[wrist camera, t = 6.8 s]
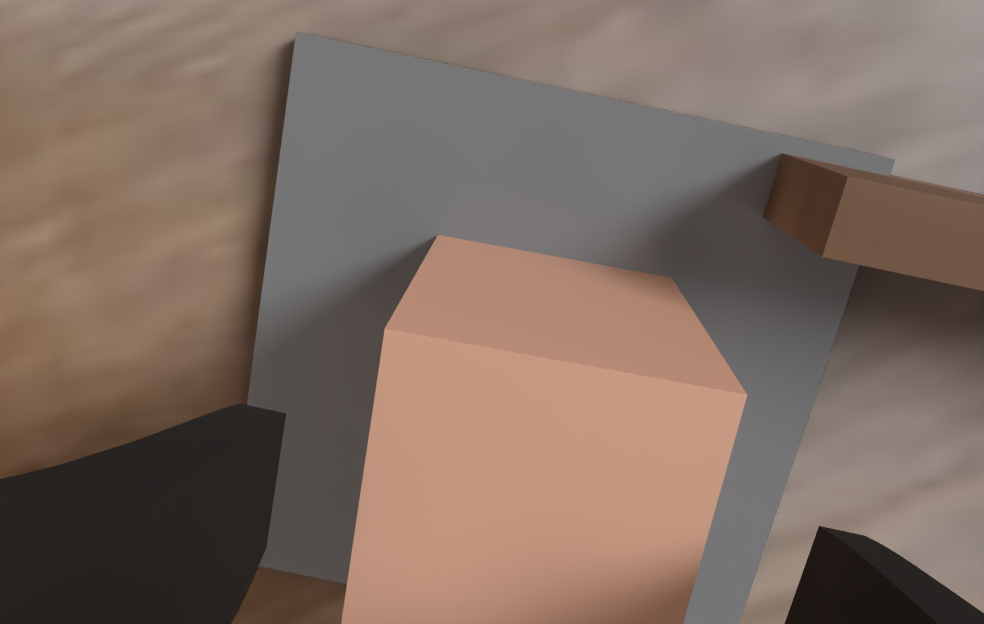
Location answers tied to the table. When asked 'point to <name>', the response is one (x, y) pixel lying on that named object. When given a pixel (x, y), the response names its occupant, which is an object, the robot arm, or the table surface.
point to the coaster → (529, 227)
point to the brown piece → (880, 220)
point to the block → (539, 446)
